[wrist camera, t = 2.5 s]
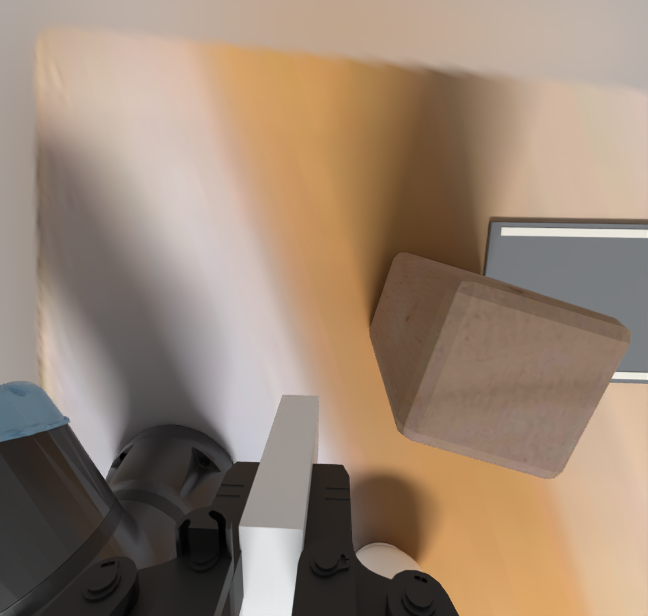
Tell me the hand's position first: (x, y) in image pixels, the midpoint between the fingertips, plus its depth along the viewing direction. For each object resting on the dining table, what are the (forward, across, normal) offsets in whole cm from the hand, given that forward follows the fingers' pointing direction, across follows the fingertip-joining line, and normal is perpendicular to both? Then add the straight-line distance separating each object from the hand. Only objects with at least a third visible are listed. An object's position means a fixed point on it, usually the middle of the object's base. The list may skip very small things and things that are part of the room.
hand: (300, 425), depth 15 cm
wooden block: (+24, +11, 0) cm, 27 cm away
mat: (+24, +28, 0) cm, 37 cm away
